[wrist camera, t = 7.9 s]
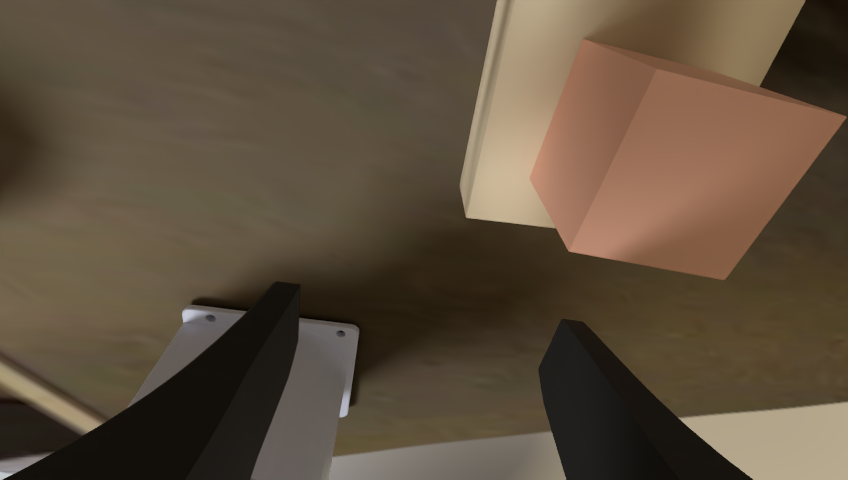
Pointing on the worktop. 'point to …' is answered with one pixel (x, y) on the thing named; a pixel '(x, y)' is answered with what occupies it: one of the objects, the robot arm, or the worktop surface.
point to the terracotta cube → (670, 160)
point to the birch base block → (552, 61)
